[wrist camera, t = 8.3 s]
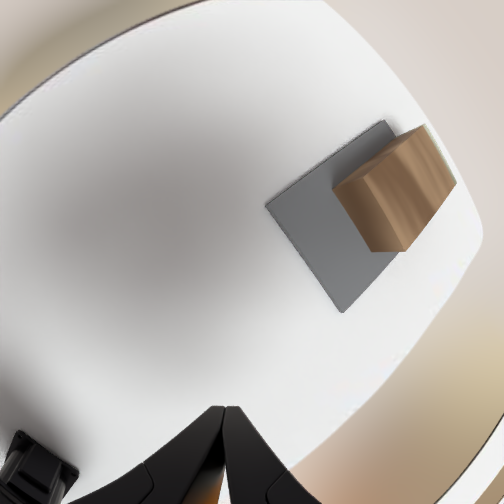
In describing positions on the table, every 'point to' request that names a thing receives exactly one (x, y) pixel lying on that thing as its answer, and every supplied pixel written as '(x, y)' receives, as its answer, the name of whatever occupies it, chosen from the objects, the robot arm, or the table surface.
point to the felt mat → (333, 222)
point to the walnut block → (397, 191)
